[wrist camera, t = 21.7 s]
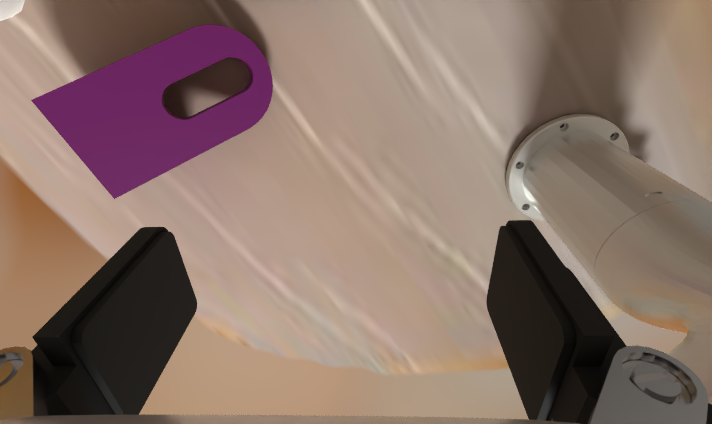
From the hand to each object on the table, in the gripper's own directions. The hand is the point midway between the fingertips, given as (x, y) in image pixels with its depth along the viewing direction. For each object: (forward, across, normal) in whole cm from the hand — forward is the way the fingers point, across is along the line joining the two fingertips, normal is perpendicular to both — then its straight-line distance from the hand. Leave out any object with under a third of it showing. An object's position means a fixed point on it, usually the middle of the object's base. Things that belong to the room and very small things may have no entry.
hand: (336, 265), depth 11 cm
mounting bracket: (+30, +17, +1) cm, 35 cm away
